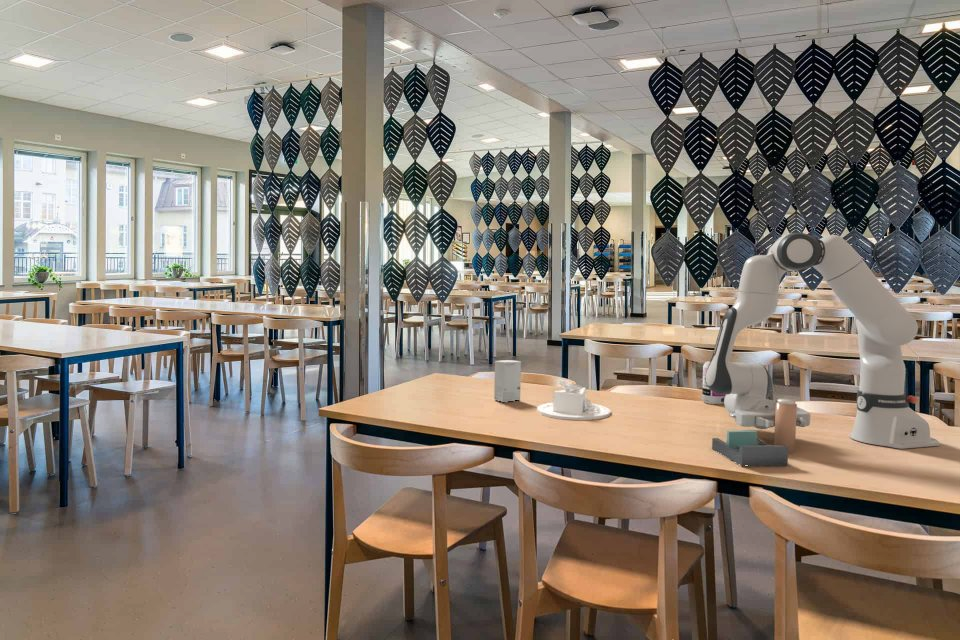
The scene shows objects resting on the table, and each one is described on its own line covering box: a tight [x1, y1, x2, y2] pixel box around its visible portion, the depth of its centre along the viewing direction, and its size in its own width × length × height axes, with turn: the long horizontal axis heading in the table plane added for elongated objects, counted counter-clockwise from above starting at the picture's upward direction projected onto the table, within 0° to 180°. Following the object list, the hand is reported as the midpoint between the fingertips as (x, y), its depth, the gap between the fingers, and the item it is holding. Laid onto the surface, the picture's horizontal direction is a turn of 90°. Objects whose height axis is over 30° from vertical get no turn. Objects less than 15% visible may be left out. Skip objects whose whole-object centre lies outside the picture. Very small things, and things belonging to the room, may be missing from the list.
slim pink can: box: [773, 397, 798, 455], centre depth 178 cm, size 5×5×14 cm
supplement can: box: [701, 360, 727, 406], centre depth 243 cm, size 8×8×15 cm
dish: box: [536, 379, 612, 421], centre depth 224 cm, size 25×25×11 cm
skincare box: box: [493, 359, 522, 403], centre depth 242 cm, size 8×6×15 cm
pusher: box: [726, 429, 758, 450], centre depth 174 cm, size 8×4×6 cm, turn 96°
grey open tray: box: [711, 437, 789, 467], centre depth 172 cm, size 12×16×5 cm
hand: (787, 424), depth 177 cm, fingers open, 8 cm apart
